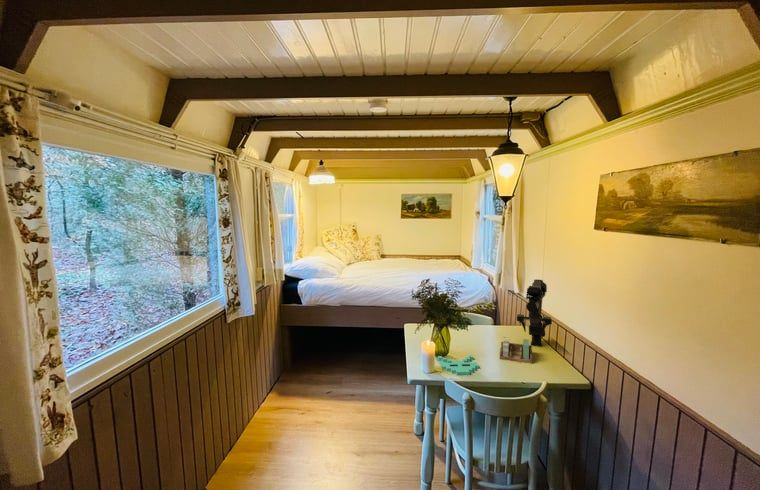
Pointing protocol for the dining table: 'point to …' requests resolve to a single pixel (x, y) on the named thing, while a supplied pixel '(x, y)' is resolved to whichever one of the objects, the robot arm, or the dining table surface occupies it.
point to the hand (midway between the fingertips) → (533, 333)
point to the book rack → (514, 352)
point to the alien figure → (459, 365)
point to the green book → (525, 349)
